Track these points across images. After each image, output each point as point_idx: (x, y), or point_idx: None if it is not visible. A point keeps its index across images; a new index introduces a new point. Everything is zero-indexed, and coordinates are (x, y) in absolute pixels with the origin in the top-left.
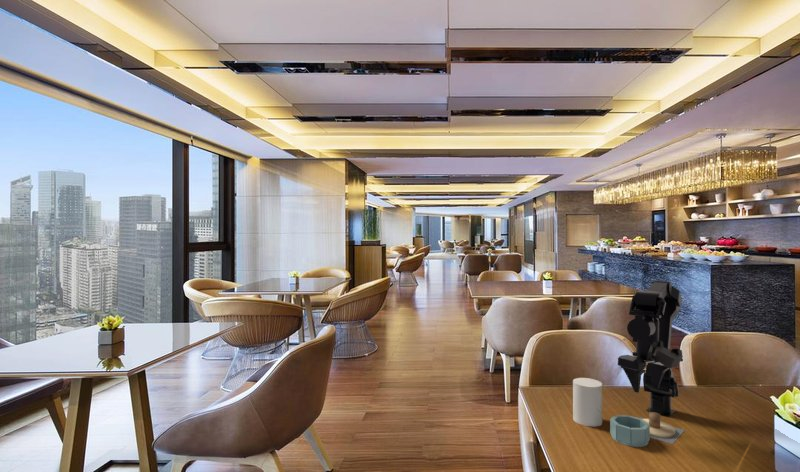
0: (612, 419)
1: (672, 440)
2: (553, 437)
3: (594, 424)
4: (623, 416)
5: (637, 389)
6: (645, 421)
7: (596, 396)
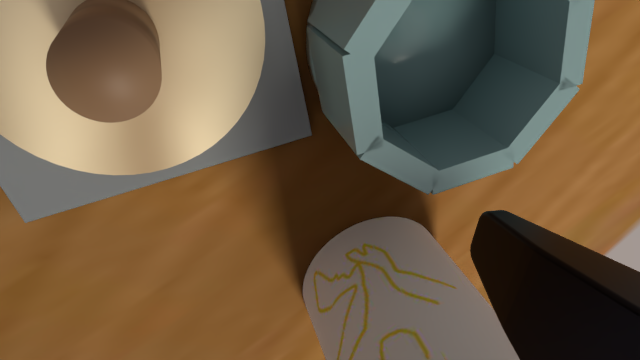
0: (515, 153)
1: None
2: (616, 212)
3: (416, 230)
4: (409, 157)
5: (549, 236)
6: (106, 130)
7: (507, 355)
